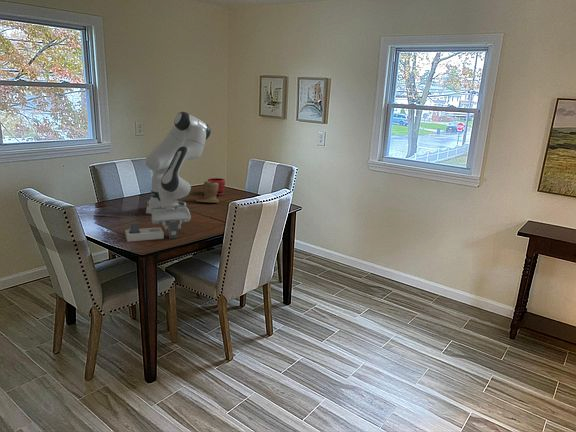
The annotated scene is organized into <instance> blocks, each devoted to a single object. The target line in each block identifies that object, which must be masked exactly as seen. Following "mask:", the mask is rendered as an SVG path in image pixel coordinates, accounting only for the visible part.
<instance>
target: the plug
mask: <svg viewBox="0 0 576 432" xmlns="http://www.w3.org/2000/svg"><path fill="white" fill-rule="evenodd" d="M177 226H178V222H177V221H176V220H174V221H169V223H168V228H169V229H168V238H169V239H171V240H172V239H178V235H179V234H178V228H177Z"/></svg>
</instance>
